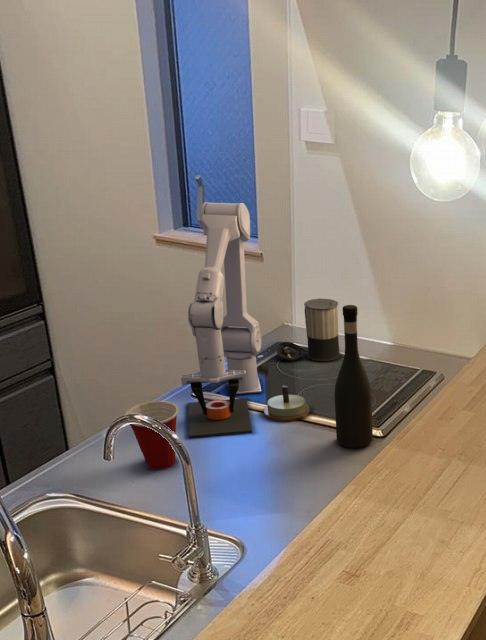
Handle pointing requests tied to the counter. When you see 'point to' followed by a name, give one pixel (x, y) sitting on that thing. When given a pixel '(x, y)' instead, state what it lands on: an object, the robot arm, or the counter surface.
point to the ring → (218, 409)
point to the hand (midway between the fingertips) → (218, 411)
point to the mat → (219, 421)
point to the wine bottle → (352, 390)
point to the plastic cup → (155, 433)
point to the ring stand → (286, 407)
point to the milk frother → (317, 332)
